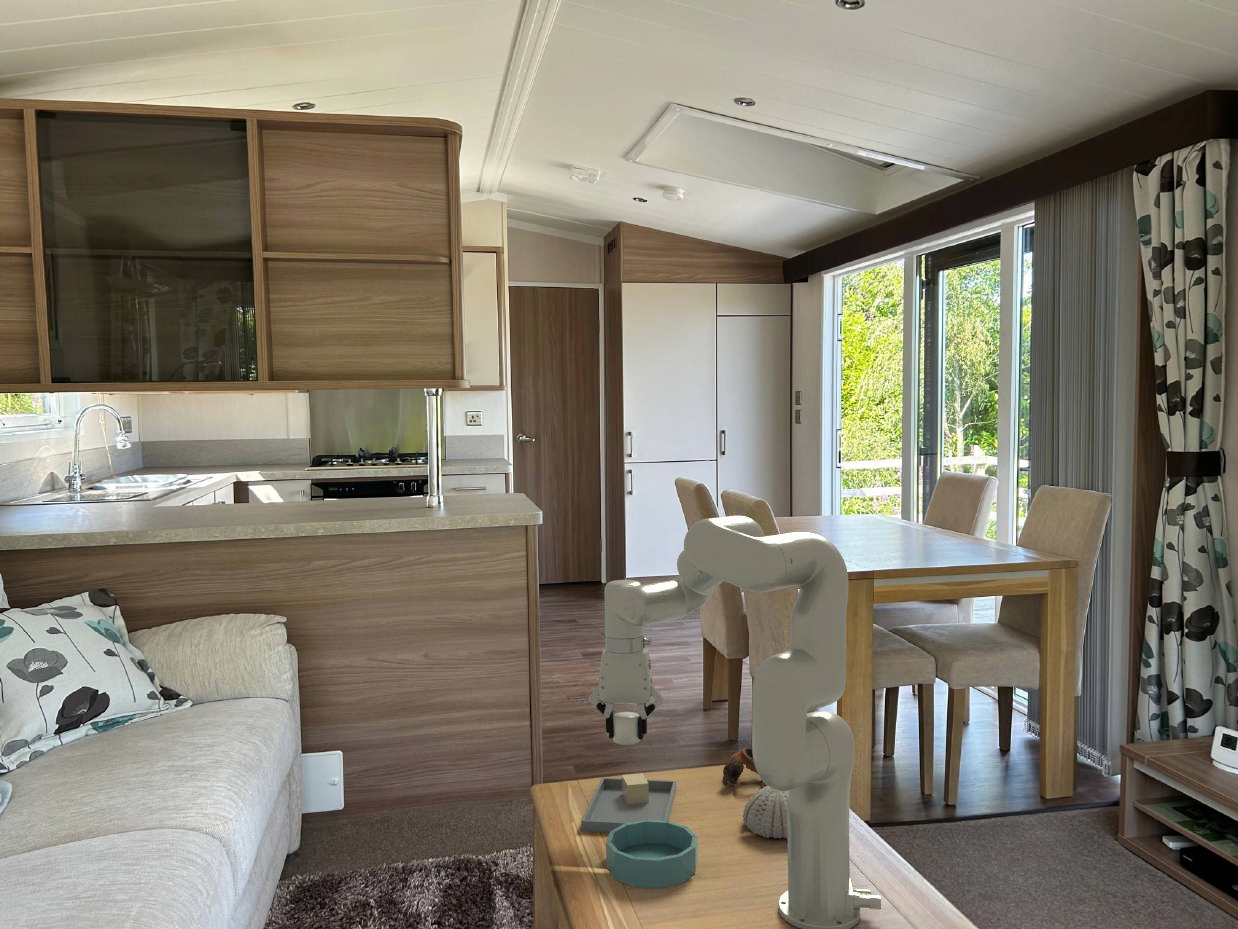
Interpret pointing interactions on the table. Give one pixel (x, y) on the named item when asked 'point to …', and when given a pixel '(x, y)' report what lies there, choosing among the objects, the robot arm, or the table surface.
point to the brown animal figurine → (739, 766)
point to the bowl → (651, 854)
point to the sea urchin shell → (767, 813)
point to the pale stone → (625, 728)
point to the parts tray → (626, 805)
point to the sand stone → (635, 788)
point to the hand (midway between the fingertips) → (626, 736)
